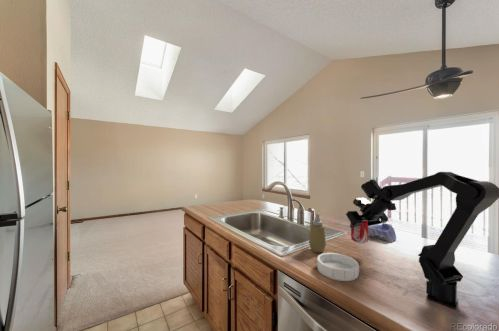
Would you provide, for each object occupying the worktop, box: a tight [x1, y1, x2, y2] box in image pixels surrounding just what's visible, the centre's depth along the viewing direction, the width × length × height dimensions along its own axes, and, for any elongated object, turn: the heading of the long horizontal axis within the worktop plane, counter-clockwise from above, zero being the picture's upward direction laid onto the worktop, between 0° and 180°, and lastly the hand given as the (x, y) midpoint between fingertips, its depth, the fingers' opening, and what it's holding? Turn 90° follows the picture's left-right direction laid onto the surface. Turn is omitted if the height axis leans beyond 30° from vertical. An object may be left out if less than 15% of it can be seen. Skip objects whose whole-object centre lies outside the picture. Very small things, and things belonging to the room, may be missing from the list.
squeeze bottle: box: [308, 213, 327, 253], centre depth 102 cm, size 8×8×18 cm
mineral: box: [368, 222, 397, 243], centre depth 121 cm, size 14×10×10 cm
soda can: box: [350, 220, 369, 244], centre depth 97 cm, size 7×7×12 cm
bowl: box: [316, 252, 360, 282], centre depth 82 cm, size 15×15×4 cm
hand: (356, 226), depth 98 cm, fingers closed on soda can, 7 cm apart
